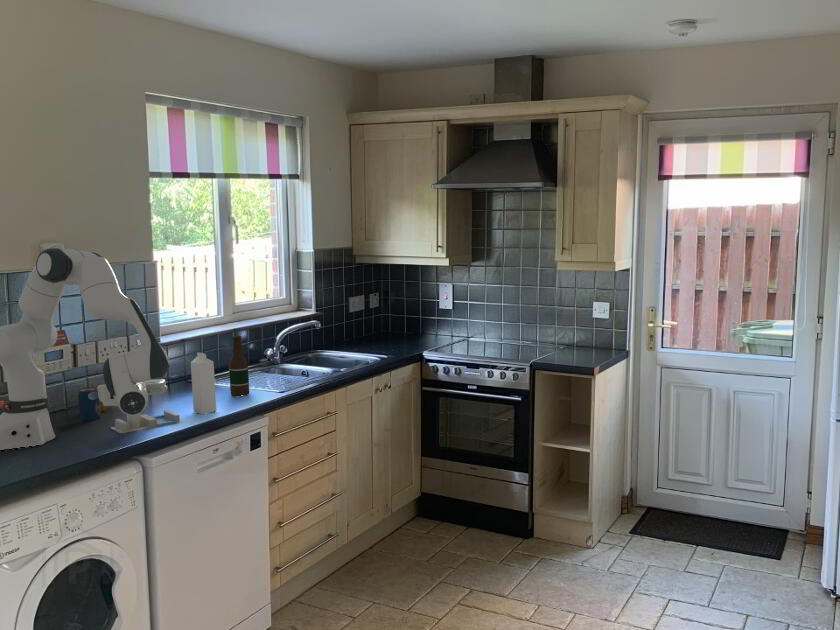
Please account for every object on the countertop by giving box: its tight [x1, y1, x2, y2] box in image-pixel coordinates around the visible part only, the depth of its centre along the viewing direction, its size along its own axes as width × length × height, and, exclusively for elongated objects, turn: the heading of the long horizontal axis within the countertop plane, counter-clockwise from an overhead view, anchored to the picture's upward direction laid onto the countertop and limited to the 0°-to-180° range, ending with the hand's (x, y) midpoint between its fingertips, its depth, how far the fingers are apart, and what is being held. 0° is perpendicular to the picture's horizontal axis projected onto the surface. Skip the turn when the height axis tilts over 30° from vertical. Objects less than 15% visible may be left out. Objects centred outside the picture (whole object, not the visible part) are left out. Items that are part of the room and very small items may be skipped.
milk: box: [190, 352, 217, 415], centre depth 293 cm, size 6×6×22 cm
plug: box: [126, 412, 142, 429], centre depth 269 cm, size 4×4×16 cm
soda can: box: [77, 387, 102, 423], centre depth 283 cm, size 7×7×12 cm
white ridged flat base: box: [110, 409, 184, 434], centre depth 272 cm, size 22×12×4 cm, turn 130°
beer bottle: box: [228, 334, 250, 397], centre depth 320 cm, size 8×8×24 cm
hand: (132, 384), depth 256 cm, fingers open, 8 cm apart
